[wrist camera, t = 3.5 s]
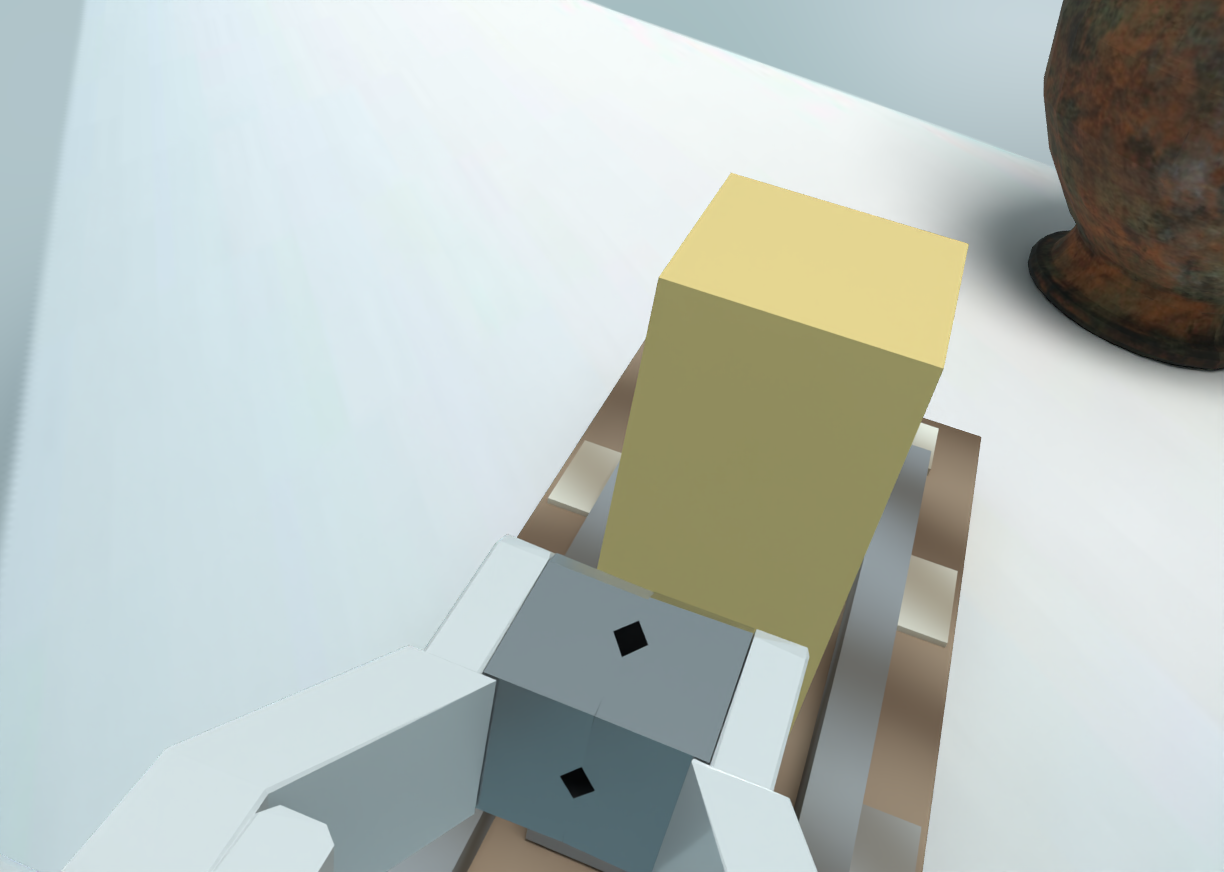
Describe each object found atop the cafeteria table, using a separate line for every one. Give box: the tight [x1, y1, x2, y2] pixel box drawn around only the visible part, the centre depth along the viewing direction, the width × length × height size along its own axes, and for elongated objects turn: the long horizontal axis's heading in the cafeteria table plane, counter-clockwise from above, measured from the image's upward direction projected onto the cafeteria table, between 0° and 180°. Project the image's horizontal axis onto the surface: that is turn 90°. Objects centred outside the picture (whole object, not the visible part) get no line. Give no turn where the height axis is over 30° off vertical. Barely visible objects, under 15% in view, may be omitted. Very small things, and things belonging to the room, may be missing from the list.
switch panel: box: [386, 339, 981, 872], centre depth 29 cm, size 26×12×4 cm, turn 160°
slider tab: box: [526, 173, 969, 872], centre depth 21 cm, size 5×4×14 cm
